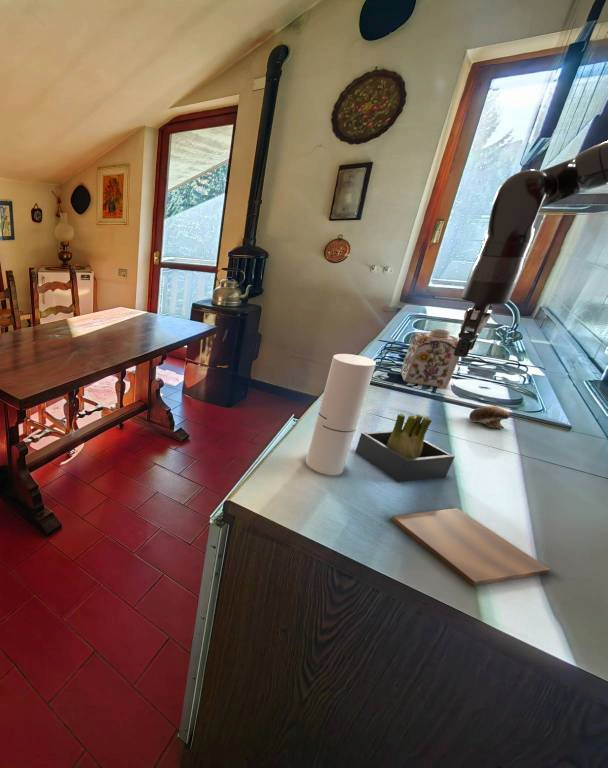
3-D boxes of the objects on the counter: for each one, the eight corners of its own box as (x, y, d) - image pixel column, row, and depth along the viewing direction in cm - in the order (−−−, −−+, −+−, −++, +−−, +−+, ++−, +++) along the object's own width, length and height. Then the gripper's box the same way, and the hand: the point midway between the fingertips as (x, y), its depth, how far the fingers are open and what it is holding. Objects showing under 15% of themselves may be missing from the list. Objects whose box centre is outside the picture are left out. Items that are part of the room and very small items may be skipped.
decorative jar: (447, 390, 127) (468, 337, 121) (403, 382, 133) (421, 331, 126) (439, 378, 137) (459, 329, 130) (399, 372, 142) (415, 324, 136)
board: (454, 513, 72) (457, 507, 72) (547, 575, 60) (550, 569, 59) (390, 521, 70) (392, 515, 69) (471, 587, 57) (475, 581, 57)
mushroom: (521, 426, 98) (512, 402, 99) (480, 431, 101) (471, 407, 103) (507, 428, 105) (499, 405, 106) (469, 432, 108) (461, 410, 110)
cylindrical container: (326, 456, 89) (355, 353, 80) (350, 475, 83) (385, 364, 73) (298, 459, 88) (325, 354, 78) (320, 478, 82) (352, 366, 72)
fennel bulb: (379, 461, 87) (396, 413, 82) (386, 453, 90) (403, 407, 85) (411, 473, 83) (431, 423, 78) (417, 465, 86) (436, 416, 81)
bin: (397, 449, 93) (404, 429, 90) (445, 478, 82) (454, 456, 80) (354, 453, 91) (361, 432, 89) (398, 484, 80) (407, 461, 78)
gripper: (514, 283, 74) (480, 363, 81) (519, 278, 83) (489, 350, 89) (463, 279, 79) (435, 354, 86) (473, 274, 88) (447, 343, 94)
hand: (462, 352), depth 87 cm, fingers open, 8 cm apart
